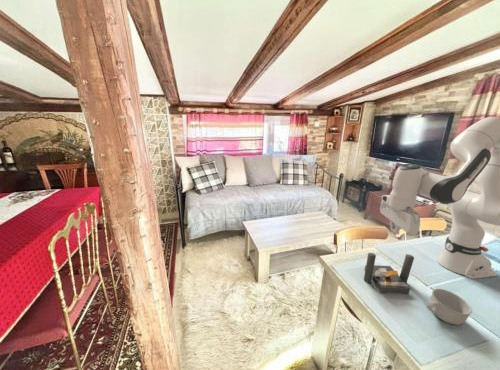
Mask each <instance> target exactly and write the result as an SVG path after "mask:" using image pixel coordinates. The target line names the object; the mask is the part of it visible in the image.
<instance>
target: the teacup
mask: <svg viewBox="0 0 500 370" xmlns="http://www.w3.org/2000/svg"><path fill="white" fill-rule="evenodd" d="M426 308H427V309H428V311H430V312H431V313H432V314H433V315H435V316H436V317H437V318H438V319H440V320H442V321H443V322H445V323H448V324H452V325H457V326H458V325H462V324H464V323H465V322H466V321H467V319H469V316H470V315H471V314H472V312H473V310H472V307H471V305H470V304H469V303H468V302H467V301H466V300H465V299H463V298H462V297H461V296H459V295H458V294H456V293H454V292H452V291H450V290H447V289H443V288H435V289H432V292H431V295H430V297H429V300H428V302H427V304H426Z"/></svg>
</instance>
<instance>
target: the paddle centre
mask: <svg viewBox="0 0 500 370" xmlns="http://www.w3.org/2000/svg"><path fill="white" fill-rule="evenodd" d="M396 275H399V272H398V271H397V270H394V271H389V272H387V273H385V274H384V276H385V277H393V276H396Z"/></svg>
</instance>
